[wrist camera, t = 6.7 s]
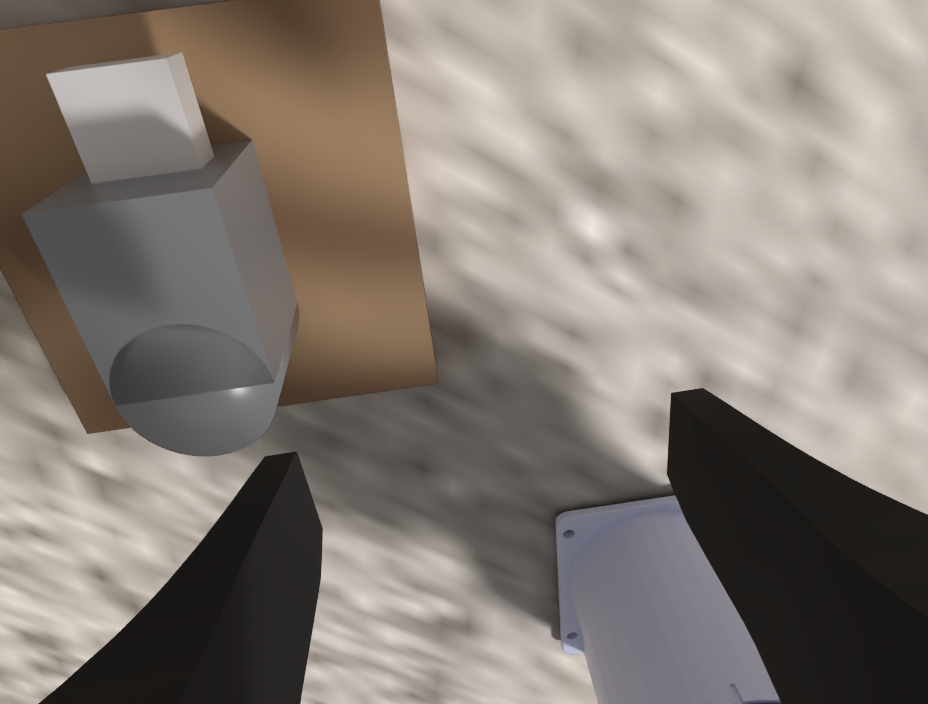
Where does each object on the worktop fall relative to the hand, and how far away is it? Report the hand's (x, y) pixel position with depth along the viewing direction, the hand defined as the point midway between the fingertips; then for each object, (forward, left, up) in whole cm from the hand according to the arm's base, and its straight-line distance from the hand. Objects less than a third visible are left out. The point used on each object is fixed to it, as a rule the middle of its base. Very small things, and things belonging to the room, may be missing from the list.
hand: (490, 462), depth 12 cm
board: (+2, +7, -10) cm, 12 cm away
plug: (+2, +7, -9) cm, 12 cm away
